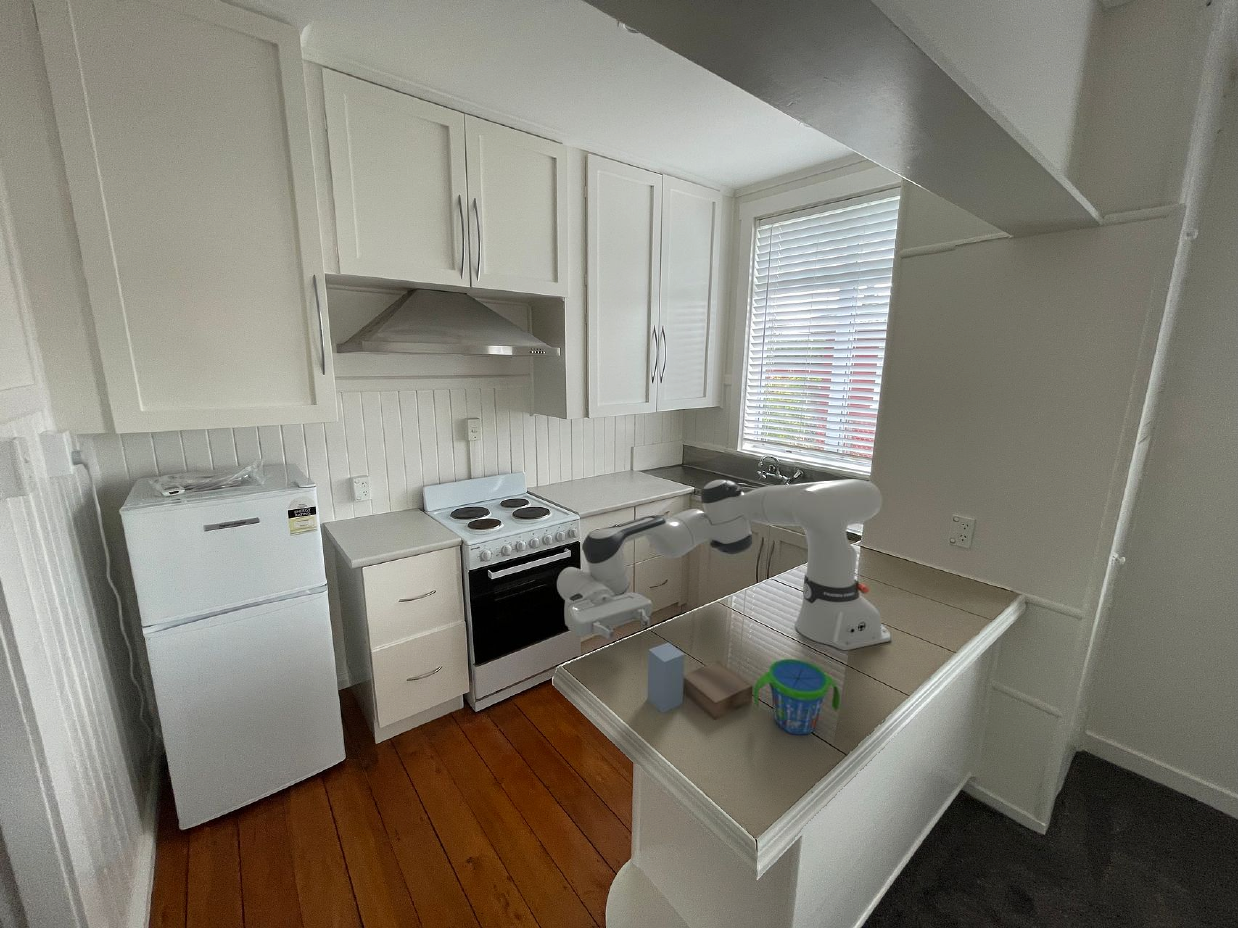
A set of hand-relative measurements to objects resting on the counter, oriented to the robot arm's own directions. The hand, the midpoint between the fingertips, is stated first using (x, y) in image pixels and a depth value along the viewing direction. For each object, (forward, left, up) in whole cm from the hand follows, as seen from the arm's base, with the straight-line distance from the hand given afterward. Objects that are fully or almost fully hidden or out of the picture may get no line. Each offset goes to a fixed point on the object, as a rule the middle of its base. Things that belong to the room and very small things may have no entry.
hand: (629, 628), depth 109 cm
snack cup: (-29, +20, -10) cm, 36 cm away
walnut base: (-16, +11, -11) cm, 22 cm away
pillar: (-6, +11, -10) cm, 16 cm away
